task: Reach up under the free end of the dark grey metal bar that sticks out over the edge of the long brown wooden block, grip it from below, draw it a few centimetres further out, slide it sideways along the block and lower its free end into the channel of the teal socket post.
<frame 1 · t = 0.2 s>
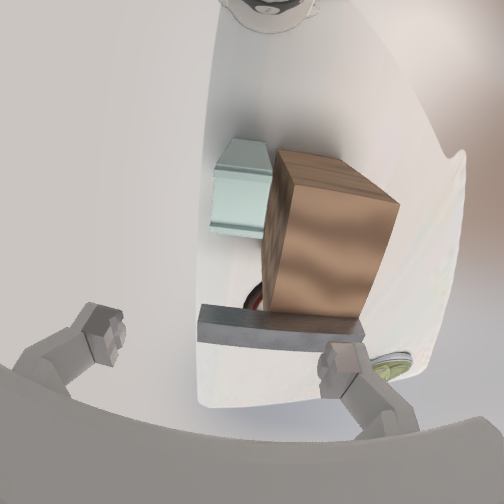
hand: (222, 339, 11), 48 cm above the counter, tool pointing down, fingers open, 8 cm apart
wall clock: (300, 309, 72), on the counter
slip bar: (281, 322, 39), point 26 cm above the counter, touching brown wooden block
brown wooden block: (300, 206, 58), on the counter
boat shoe: (371, 365, 84), on the counter
socket post: (246, 159, 54), on the counter
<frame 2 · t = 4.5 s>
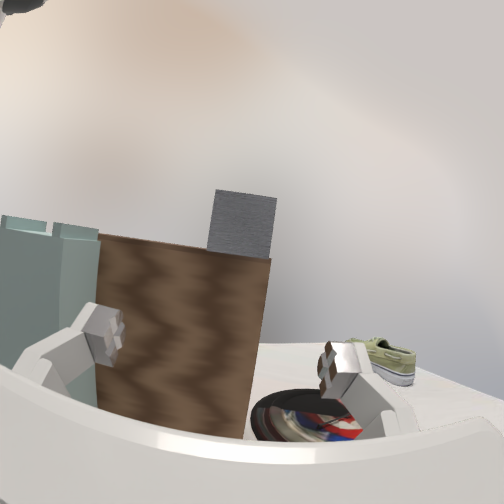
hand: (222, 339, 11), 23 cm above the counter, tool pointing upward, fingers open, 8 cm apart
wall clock: (333, 431, 39), on the counter
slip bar: (238, 253, 28), point 26 cm above the counter, touching brown wooden block
brown wooden block: (155, 434, 32), on the counter
boat shoe: (374, 368, 69), on the counter
socket post: (66, 466, 19), on the counter
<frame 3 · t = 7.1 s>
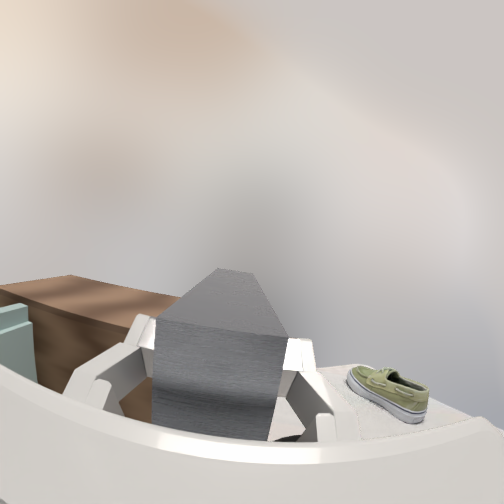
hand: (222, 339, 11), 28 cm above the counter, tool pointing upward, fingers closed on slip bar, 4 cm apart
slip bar: (224, 336, 18), point 26 cm above the counter, touching gripper, brown wooden block
brown wooden block: (139, 499, 22), on the counter
boat shoe: (383, 400, 60), on the counter
when the fingers open (29 cm above the counter, at t = 13.4 s): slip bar stays where it is, resting on brown wooden block, socket post.
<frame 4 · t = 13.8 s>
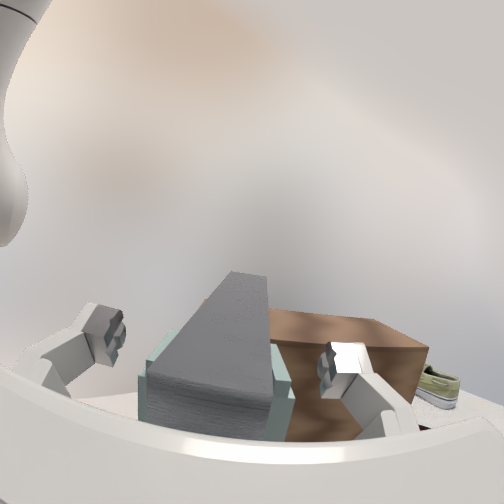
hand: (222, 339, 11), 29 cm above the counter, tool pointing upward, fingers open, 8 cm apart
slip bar: (232, 349, 18), point 26 cm above the counter, touching brown wooden block, socket post
brown wooden block: (264, 495, 28), on the counter
boat shoe: (418, 392, 65), on the counter
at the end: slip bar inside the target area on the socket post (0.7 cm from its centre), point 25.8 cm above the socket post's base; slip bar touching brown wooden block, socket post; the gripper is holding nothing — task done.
